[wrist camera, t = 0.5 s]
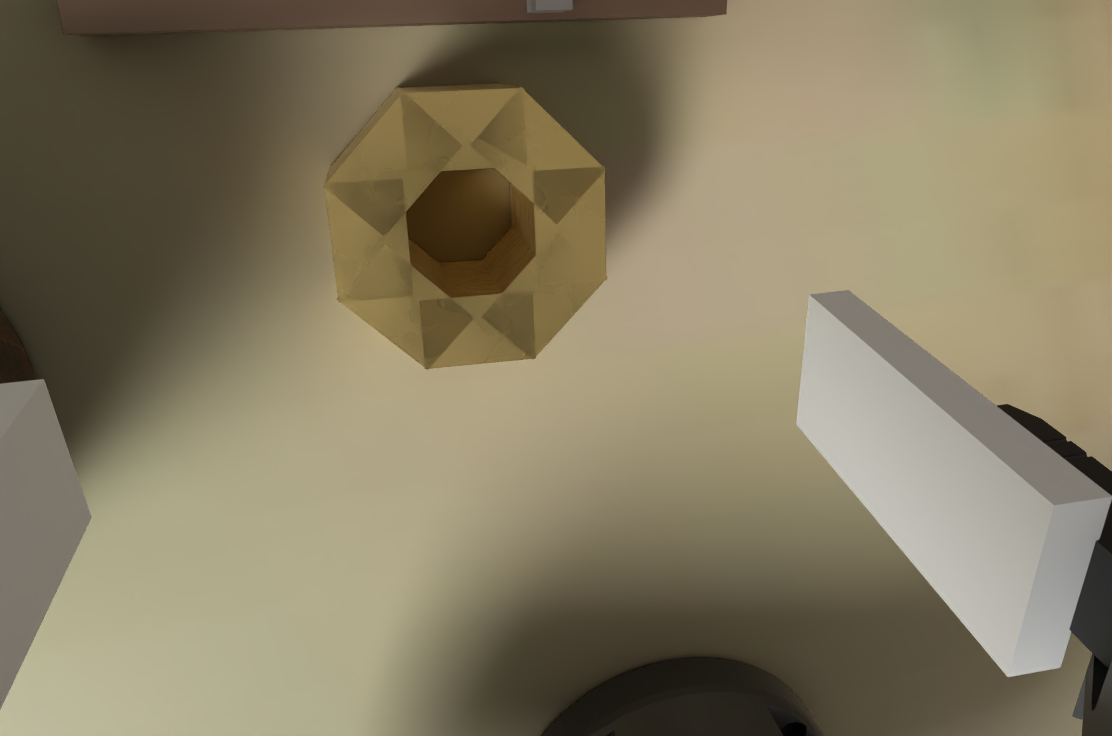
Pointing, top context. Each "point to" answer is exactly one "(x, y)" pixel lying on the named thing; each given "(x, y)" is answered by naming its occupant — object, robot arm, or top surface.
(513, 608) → the top surface
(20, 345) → the wooden container
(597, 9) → the gear board
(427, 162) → the faceted octagonal washer
